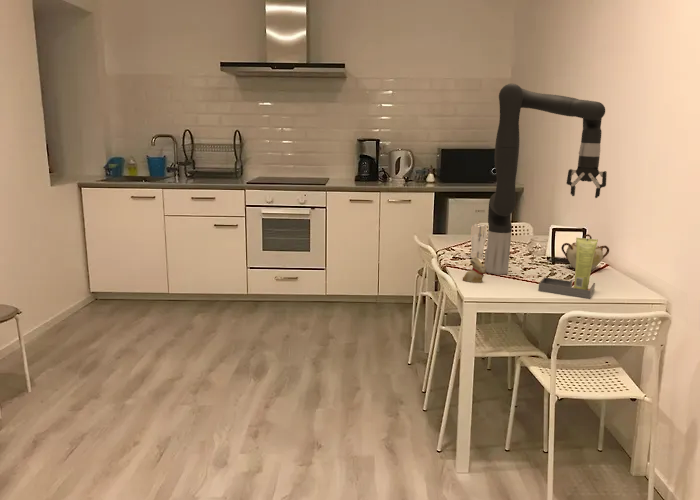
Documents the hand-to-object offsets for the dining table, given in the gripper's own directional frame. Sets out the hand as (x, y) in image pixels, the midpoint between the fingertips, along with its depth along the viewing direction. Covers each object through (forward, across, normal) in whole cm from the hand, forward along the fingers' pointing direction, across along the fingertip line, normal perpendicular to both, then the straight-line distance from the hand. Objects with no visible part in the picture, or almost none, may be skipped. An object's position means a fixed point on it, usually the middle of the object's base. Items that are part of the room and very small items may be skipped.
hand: (584, 196), depth 235 cm
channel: (+33, 0, +21) cm, 39 cm away
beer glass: (+33, +45, -13) cm, 57 cm away
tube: (+33, -5, +17) cm, 37 cm away
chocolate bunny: (+33, +34, +28) cm, 55 cm away
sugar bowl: (+33, 0, -20) cm, 39 cm away
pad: (+33, -5, +17) cm, 38 cm away
